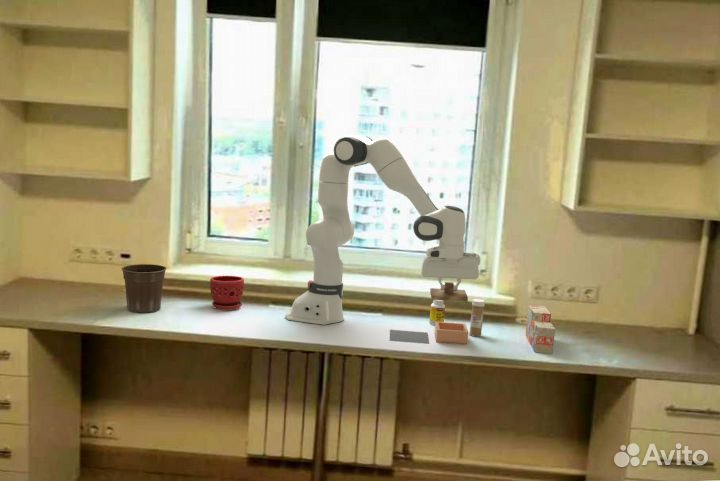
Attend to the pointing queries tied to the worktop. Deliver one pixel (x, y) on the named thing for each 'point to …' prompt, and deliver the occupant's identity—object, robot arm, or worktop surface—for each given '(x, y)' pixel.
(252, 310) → the worktop surface
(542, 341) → the red and white cartons
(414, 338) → the mat
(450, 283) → the lid
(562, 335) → the worktop surface
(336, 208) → the robot arm
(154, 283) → the plant pot
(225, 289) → the plant pot
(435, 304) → the supplement bottle
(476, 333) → the sprinkles bottle
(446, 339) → the orange open box
